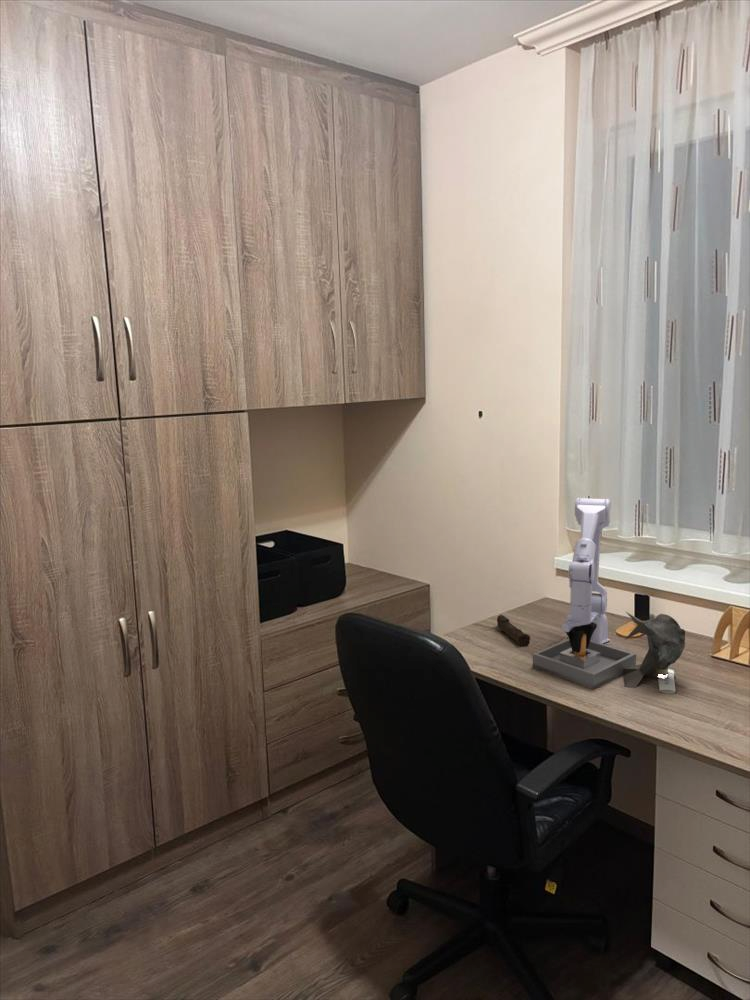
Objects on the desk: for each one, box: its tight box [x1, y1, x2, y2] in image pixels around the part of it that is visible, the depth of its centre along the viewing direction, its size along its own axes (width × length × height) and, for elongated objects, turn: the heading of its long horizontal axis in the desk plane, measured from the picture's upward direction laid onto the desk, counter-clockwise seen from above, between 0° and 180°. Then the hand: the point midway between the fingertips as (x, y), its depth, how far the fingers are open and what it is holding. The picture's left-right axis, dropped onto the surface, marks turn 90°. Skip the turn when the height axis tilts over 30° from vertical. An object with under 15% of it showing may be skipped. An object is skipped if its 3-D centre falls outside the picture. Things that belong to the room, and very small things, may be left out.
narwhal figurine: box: [622, 611, 686, 689], centre depth 200 cm, size 14×15×18 cm
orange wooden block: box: [574, 633, 586, 657], centre depth 212 cm, size 3×3×8 cm
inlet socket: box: [560, 648, 601, 669], centre depth 212 cm, size 8×8×2 cm
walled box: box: [532, 638, 637, 690], centre depth 210 cm, size 20×20×4 cm
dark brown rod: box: [496, 614, 531, 647], centre depth 236 cm, size 19×4×5 cm, turn 13°
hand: (580, 649), depth 212 cm, fingers open, 3 cm apart
